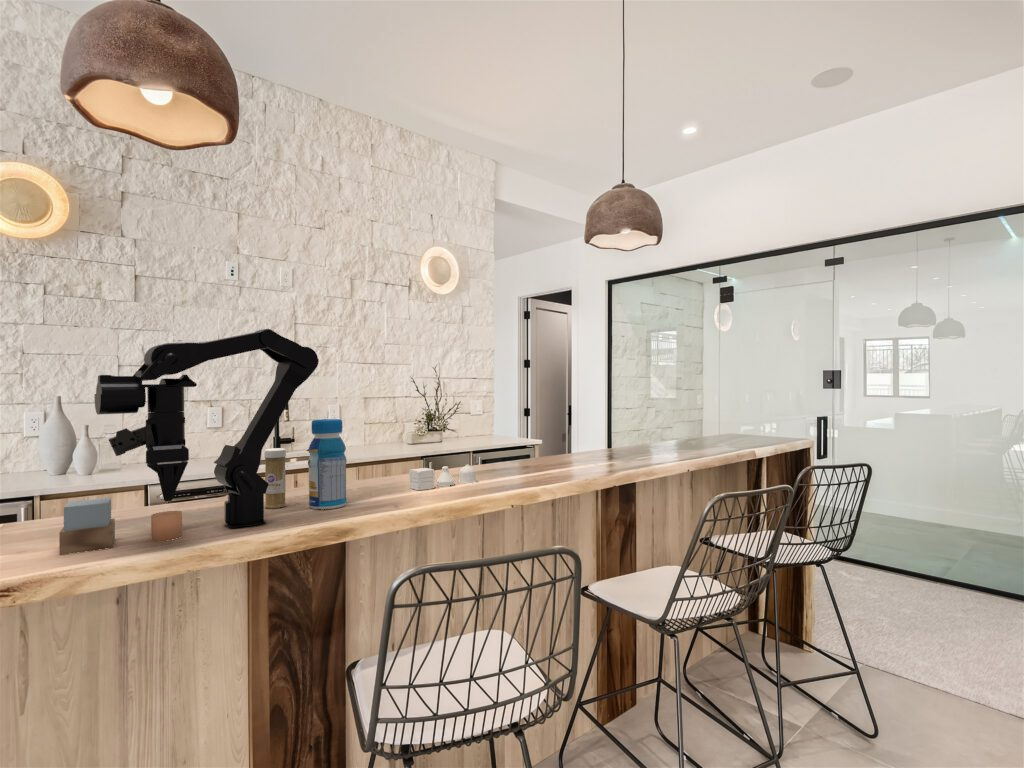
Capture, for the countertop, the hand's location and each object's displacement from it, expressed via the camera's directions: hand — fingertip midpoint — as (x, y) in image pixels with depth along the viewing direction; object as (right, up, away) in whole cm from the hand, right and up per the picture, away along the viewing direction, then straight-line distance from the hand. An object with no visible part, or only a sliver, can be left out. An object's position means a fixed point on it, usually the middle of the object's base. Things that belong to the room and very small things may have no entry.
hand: (167, 496), depth 100 cm
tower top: (-10, -4, -5) cm, 12 cm away
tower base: (-10, -8, -5) cm, 14 cm away
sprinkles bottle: (+9, -8, +26) cm, 28 cm away
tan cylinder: (0, -8, 0) cm, 8 cm away
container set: (+45, -8, +52) cm, 69 cm away
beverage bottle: (+21, -8, +25) cm, 34 cm away
